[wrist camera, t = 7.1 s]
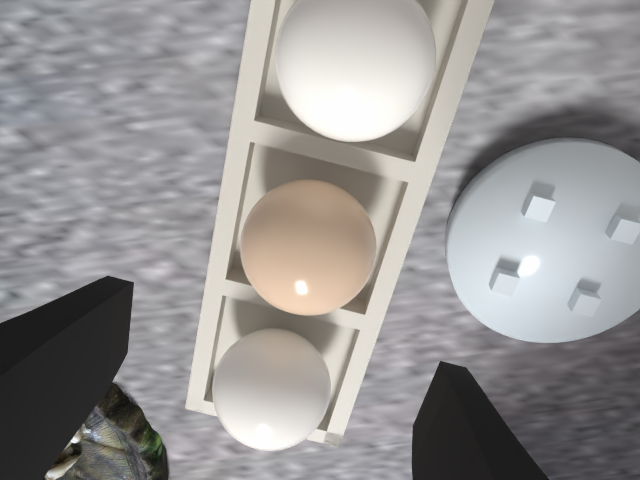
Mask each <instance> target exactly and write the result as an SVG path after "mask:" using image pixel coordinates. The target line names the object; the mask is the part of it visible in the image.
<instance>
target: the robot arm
mask: <svg viewBox="0 0 640 480" xmlns="http://www.w3.org/2000/svg"><path fill="white" fill-rule="evenodd" d="M133 286H134V282H130V281H126V280H122V279H118V278H114V277H110V276H106V277H104V278H101V279H99V280H97V281H95V282H92V283H90V284H88V285H86V286H84V287H82V288H80V289H77V290H75V291H73V292H71V293H69V294H67V295H65V296H63V297H60V298H58V299H56V300H54V301H52V302H49V303H47V304H45V305H43V306H40V307H38V308H36V309H34V310H32V311H29V312H27V313H25V314H22V315H20V316H17V317H15V318H12V319H10V320H7V321H5V322H2V323H0V480H43V478H44V477H45V475H46V474H47V472H48V471H49V469H50V468H51V467H52V465H53V464H54V463H55V461H56V460H57V459H58V457H59V456H60V455H61V453H62V452H63V450H64V449H65V448H66V446H67V445H68V444H69V442H70V441H71V440H72V438H73V437H74V435H75V434H76V433H77V431H78V430H79V429H80V427H81V426H82V425H83V423H84V422H85V420H86V419H87V418H88V416H89V415H90V414H91V412H92V411H93V409H94V408H95V407H96V405H97V404H98V403H99V401H100V400H101V398H102V397H103V395H104V394H105V393H106V391H107V390H108V388H109V386H110V384H111V383H112V381H113V379H114V377H115V375H116V374H117V372H118V370H119V368H120V366H121V364H122V362H123V361H124V359H125V357H126V355H127V352H128V341H129V330H130V319H131V308H132V297H133ZM412 475H413V480H549V479H548V478H547V477H546V475H545V474H544V473H543V472H542V470H541V469H540V468H539V467H538V465H537V464H536V463H535V462H534V461H533V459H532V458H531V457H530V456H529V454H528V453H527V452H526V450H525V449H524V448H523V446H522V445H521V444H520V443H519V441H518V440H517V439H516V437H515V436H514V434H513V433H512V432H511V430H510V429H509V428H508V426H507V425H506V423H505V422H504V421H503V419H502V418H501V416H500V415H499V414H498V412H497V411H496V409H495V408H494V406H493V405H492V403H491V402H490V401H489V399H488V398H487V396H486V395H485V393H484V392H483V390H482V389H481V388H480V386H479V385H478V383H477V382H476V380H475V379H474V377H473V376H472V375H471V373H470V372H469V371H468V369H467V368H466V367H462V366H458V365H454V364H450V363H446V362H442V361H440V363H439V366H438V368H437V370H436V373H435V375H434V377H433V380H432V382H431V384H430V387H429V389H428V392H427V394H426V396H425V399H424V401H423V403H422V406H421V408H420V410H419V413H418V415H417V418H416V420H415V422H414V425H413V437H412Z"/></svg>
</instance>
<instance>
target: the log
mask: <svg viewBox="0 0 640 480" xmlns="http://www.w3.org/2000/svg"><path fill="white" fill-rule="evenodd" d="M43 480H167V464H166V450H165V447H164V445H163V443H162V440H161V437H160V436H159V434H158V433H157V432H156V431H154V430H153V429H152V428H151V426H150V424H149V423H148V421H147V420H146V419H145V416H144V413H143V411H142V409H141V408H140V407H139V406H137V405H135V404H133V403H131V402H130V401H129V400H128V397H127V396H126V395H124V393H123V392H122V391H121V389H120V388H119V387H118V386H117V385H116V384H113V383H111V384H110V386H109V388H108V390H107V391H106V393H105V394H104V395H103V397H102V398H101V400H100V401H99V403H98V404H97V405H96V407H95V408H94V409H93V411H92V412H91V414H90V415H89V416H88V418H87V419H86V420H85V422H84V423H83V425H82V426H81V427H80V429H79V430H78V431H77V433H76V434H75V435H74V437H73V438H72V440H71V441H70V442H69V444H68V445H67V446H66V448H65V449H64V450H63V452H62V453H61V455H60V456H59V457H58V459H57V460H56V461H55V463H54V464H53V465H52V467H51V468H50V469H49V471H48V472H47V474H46V475H45V477H44V478H43Z"/></svg>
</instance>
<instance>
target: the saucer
mask: <svg viewBox="0 0 640 480" xmlns="http://www.w3.org/2000/svg"><path fill="white" fill-rule="evenodd" d="M445 254H446V261H447V265H448V269H449V273H450V276H451V280H452V283H453V286H454V288H455V291H456V293H457V295H458V297H459V298H460V300H461V301H462V303H463V304H464V306H465V307H466V308H467V309H468V311H469V312H470V313H471V314H472V315H473V316H474V317H475V318H477V319H478V320H479V321H480V322H481V323H483V324H484V325H486V326H487V327H489V328H491V329H492V330H494V331H496V332H498V333H501V334H503V335H505V336H508V337H511V338H515V339H518V340H523V341H528V342H537V343H560V342H568V341H574V340H578V339H583V338H587V337H590V336H593V335H596V334H599V333H601V332H603V331H605V330H608V329H610V328H612V327H614V326H616V325H617V324H619V323H621V322H623V321H624V320H626V319H627V318H629V317H630V316H631V315H633V314H634V313H636V312H637V311H638V310H639V309H640V162H638V161H637V160H635V159H634V158H632V157H631V156H629V155H627V154H626V153H624V152H623V151H621V150H619V149H617V148H615V147H613V146H611V145H608V144H605V143H602V142H599V141H595V140H589V139H584V138H570V137H565V138H551V139H546V140H541V141H536V142H533V143H530V144H526V145H523V146H521V147H518V148H516V149H514V150H512V151H509V152H507V153H505V154H504V155H502V156H500V157H499V158H497V159H495V160H494V161H492V162H491V163H490V164H489V165H487V166H486V167H485V168H483V169H482V170H481V171H480V172H479V173H478V174H477V175H476V176H475V177H474V178H473V179H472V180H471V181H470V182H469V183H468V185H467V186H466V187H465V188H464V190H463V191H462V193H461V194H460V196H459V198H458V199H457V201H456V203H455V205H454V207H453V209H452V211H451V214H450V217H449V220H448V223H447V228H446V234H445Z"/></svg>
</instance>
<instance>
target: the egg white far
mask: <svg viewBox="0 0 640 480" xmlns="http://www.w3.org/2000/svg"><path fill="white" fill-rule="evenodd" d="M212 393H213V403H214V407H215V411H216V413H217V416H218V418H219V420H220V422H221V423H222V425H223V427H224V428H225V429H226V430H227V431H228V432H229V434H230V435H231V436H232V437H234V438H235V439H236V440H237V441H239V442H240V443H242V444H244V445H246V446H249V447H251V448H254V449H259V450H265V451H276V450H282V449H286V448H289V447H292V446H294V445H296V444H298V443H300V442H301V441H303V440H305V439H306V438H307V437H308V436H310V435H311V434H312V433H313V432H314V431H315V429H316V428H317V427H318V426H319V424H320V423H321V421H322V419H323V418H324V415H325V413H326V411H327V408H328V405H329V400H330V394H331V382H330V375H329V371H328V368H327V365H326V363H325V361H324V358H323V357H322V355H321V354H320V352H319V351H318V350H317V348H316V347H315V346H314V345H313V344H312V343H311V342H310V341H308V340H307V339H306V338H304V337H303V336H301V335H299V334H297V333H295V332H292V331H289V330H286V329H279V328H267V329H260V330H257V331H254V332H251V333H249V334H246V335H245V336H243V337H241V338H240V339H239V340H237V341H236V342H235V343H233V344H232V345H231V346H230V347H229V348H228V350H227V351H226V352H225V353H224V355H223V356H222V358H221V360H220V362H219V364H218V366H217V368H216V371H215V375H214V378H213V387H212Z"/></svg>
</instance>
